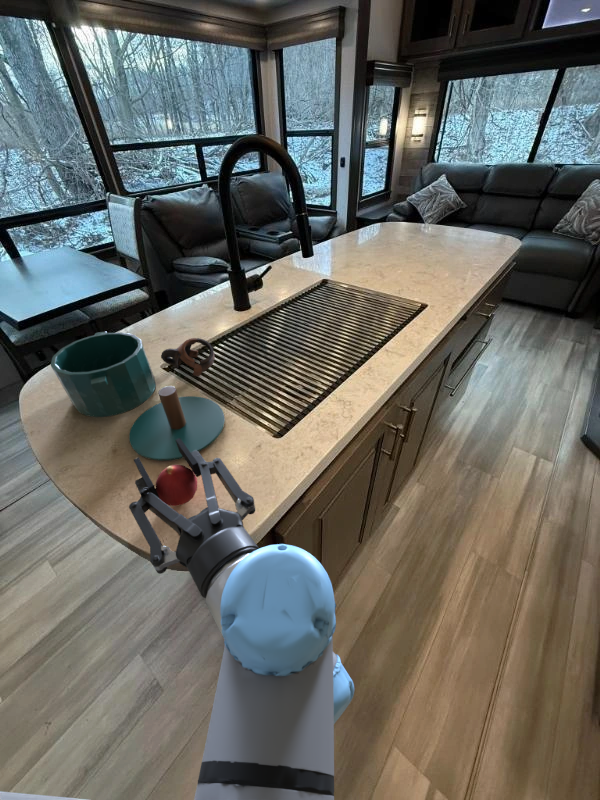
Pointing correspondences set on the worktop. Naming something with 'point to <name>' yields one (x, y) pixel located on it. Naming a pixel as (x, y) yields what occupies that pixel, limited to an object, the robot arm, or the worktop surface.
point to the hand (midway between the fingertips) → (160, 454)
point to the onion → (176, 485)
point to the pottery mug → (189, 356)
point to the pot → (105, 373)
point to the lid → (176, 426)
